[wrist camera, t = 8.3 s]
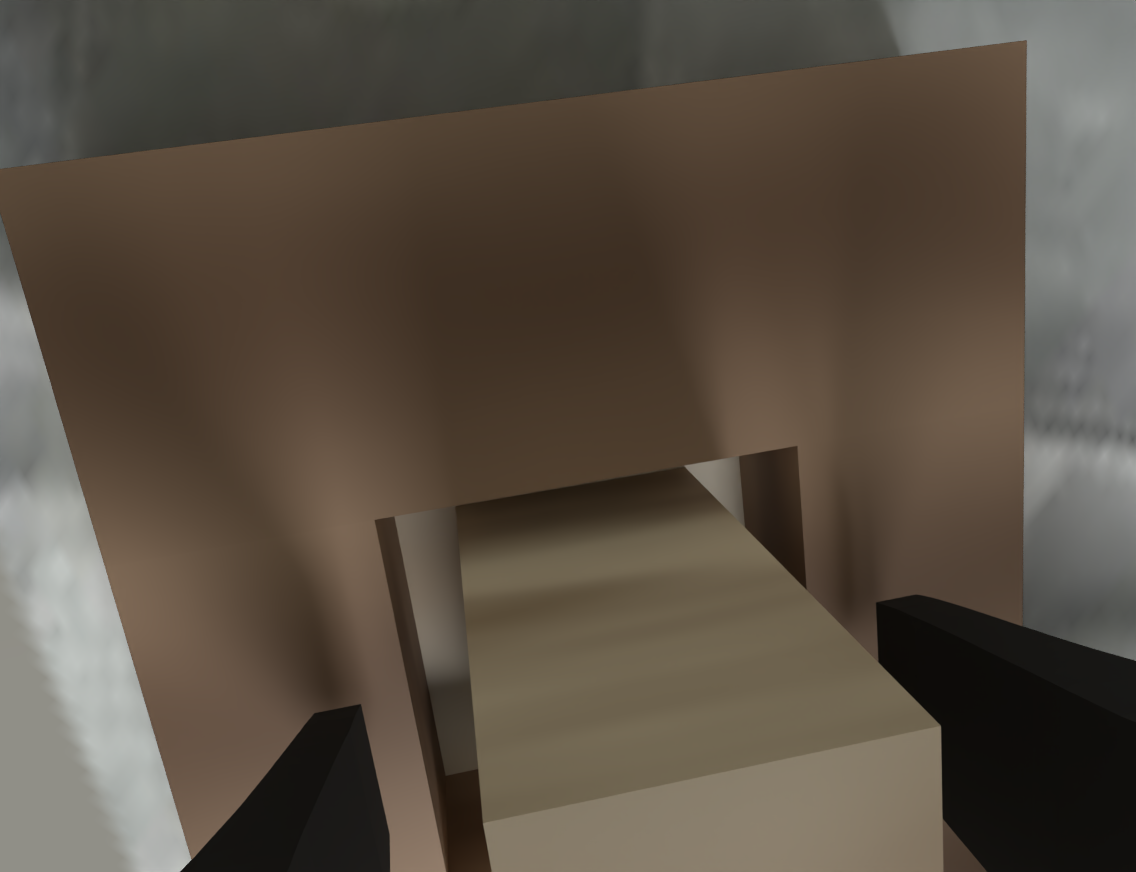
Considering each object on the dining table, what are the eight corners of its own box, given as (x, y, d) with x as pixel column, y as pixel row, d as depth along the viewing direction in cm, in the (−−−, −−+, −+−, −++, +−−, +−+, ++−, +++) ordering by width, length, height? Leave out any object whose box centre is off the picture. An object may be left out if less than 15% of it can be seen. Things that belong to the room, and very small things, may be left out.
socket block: (929, 874, 19) (1020, 995, 16) (310, 1020, 17) (286, 1182, 14) (908, 74, 15) (1026, 40, 12) (84, 179, 13) (-12, 170, 10)
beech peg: (704, 671, 16) (947, 1079, 9) (490, 713, 16) (548, 1182, 8) (685, 467, 15) (941, 725, 8) (455, 506, 15) (483, 823, 7)
